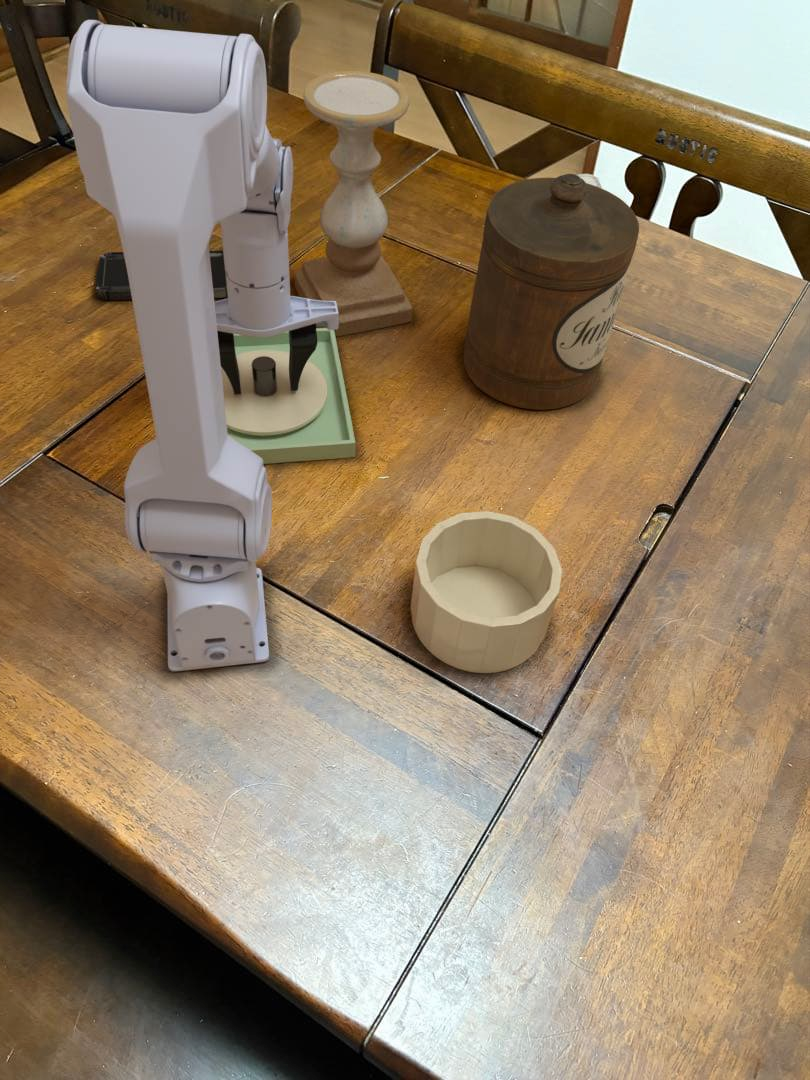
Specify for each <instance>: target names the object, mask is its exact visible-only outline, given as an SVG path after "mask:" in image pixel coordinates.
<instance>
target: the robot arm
mask: <svg viewBox="0 0 810 1080" xmlns="http://www.w3.org/2000/svg"><path fill="white" fill-rule="evenodd" d="M266 67H267V66H266V59H265V55H264V52H263V50H262V47H261V46H260V45H259V44H258V43H257V41H256V39H255V38H254V36H253V35H252V34H250V33H249V34H248V33H240V34H239V35H238V36H236V35H225V34H216V33H215V34H213V33H205V32H204V33H203V32H195V31H194V32H193V31H192V32H191V31H183V30H182V31H181V30H171V29H161V28H150V27H149V28H148V27H138V26H127V25H115V24H106V23H104V22H101V21H100V20H97V19H86V20H84V21H83V22H82V23H81V24H80V26H79V28H78V30H77V31H76V32H75V34H74V35H73V37H72V39H71V42H70V45H69V49H68V57H67V73H66V74H67V75H66V82H65V98H66V104H67V105H66V106H67V110H68V115H69V121H70V124H71V130H72V137H73V141H74V145H75V150H76V157H77V160H78V165H79V169H80V172H81V173H82V175H83V180H84V181H83V182H84V185H85V190H86V194H87V195H88V197H89V198H91V199H92V200H93V201H94V202H96V203H97V204H99V205H100V206H101V207H103V208H104V209H106V210H107V212H109V213H111V214H112V215H113V216H114V217H115V220H116V226H117V231H118V234H119V235H118V236H119V239H120V243H121V248H122V252H123V253H124V258H125V263H126V267H127V273H128V278H129V284H130V290H131V296H132V299H131V300H132V301H131V302H132V307H133V313H134V317H135V318H134V319H135V323H136V329H137V335H138V340H139V346H140V351H141V352H140V353H141V358H142V363H143V368H144V376H145V380H146V387H147V393H148V397H149V404H150V410H151V415H152V420H153V426H154V432H155V433H154V434H155V437H156V438H154V439H153V440H151V441H149V442H147V443H146V444H144V445H143V446H141V447H140V448H138V450H137V451H136V453H135V455H134V457H133V459H132V461H131V463H130V465H129V466H128V467H129V468H128V470H127V473H126V476H125V480H124V483H123V490H124V491H123V492H124V501H125V508H124V527H125V528H124V529H125V533H126V537H127V540H128V542H129V544H130V545H131V546H132V548H133V550H134V551H136V552H138V553H149V556H150V561H151V563H152V564H156V565H160V567H161V572H162V576H163V580H164V584H165V589H166V593H167V667H168V669H169V671H171V672H183V671H190V670H200V669H201V670H202V669H209V668H219V667H228V666H229V667H230V666H238V665H247V664H256V663H264V662H267V661H268V660H269V659H270V651H269V648H270V647H269V638H268V627H267V625H268V624H267V614H266V613H267V612H266V606H265V605H266V604H265V603H266V601H265V593H264V592H265V591H264V579H263V570H262V569H261V568H260V567H257V562H258V561H259V560H260V559H261V558H262V557H263V556H264V555H265V554H266V552H267V550H268V547H269V541H270V537H271V536H270V535H271V530H272V529H271V528H272V517H273V492H272V487H271V485H270V484H269V480H268V474H267V468H266V466H264V464H263V459H262V458H261V457H259V456H258V455H257V454H255V453H254V452H252V451H251V450H249V449H248V448H246V447H245V446H243V445H242V444H240V443H238V442H237V441H235V440H234V439H233V438H231V437H230V436H229V435H228V434H227V424H226V414H225V404H224V394H223V384H222V374H221V367H222V368H223V370H224V371H225V373H226V375H227V377H228V379H229V381H230V383H231V385H232V388H233V391H234V394H235V395H236V394H241V387H240V375H239V368H238V363H237V358H236V353H235V345H234V334H239V335H245V336H251V337H270V336H274V335H277V334H281V333H284V332H288V331H289V344H290V354H289V379H290V386H291V391H297V390H298V385H299V380H300V377H301V374H302V371H303V369H304V367H305V365H306V363H307V361H308V359H309V358H310V356H311V355H312V353H313V352H314V351H315V350H316V347H317V342H318V340H317V333H316V326H327V329H328V330H337V329H338V314H339V313H338V308H337V303H336V301H320V300H313V299H307V298H301V297H300V296H295V295H291V282H290V281H291V279H290V253H289V231H288V230H289V228H288V227H289V224H290V221H291V211H292V210H291V209H292V207H291V199H292V193H293V183H294V159H293V152H292V148H291V146H290V145H289V146H288V145H287V146H283V143H282V140H281V138H273V137H272V135H271V132H270V131H269V128H268V126H267V112H268V81H267V78H268V77H267V68H266ZM217 224H220V235H221V243H222V244H221V245H222V251H223V254H224V264H225V273H226V283H227V293H228V296H227V298H224V299H221V300H217V301H215V298H214V293H213V283H212V273H211V263H210V253H209V251H210V245H209V244H210V240H211V237H212V234H213V232H214V229H215V227H216V225H217ZM262 645H263V646H262ZM173 654H176V655H173Z"/></svg>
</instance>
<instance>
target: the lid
mask: <svg viewBox="0 0 810 1080" xmlns="http://www.w3.org/2000/svg"><path fill="white" fill-rule="evenodd" d="M289 354H290V353H288V352H283V351H277V350H257V351H250V352H245V353H241V354H238V355H236V358H237V363H238V368H239V375H240V387H241V394H236V395H235V394H234V391H233V388H232V385H231V383H230V381H229V379H228V377H227V375H226V373H225V371H224V370H223V368H222V367H221V374H222V384H223V394H224V404H225V414H226V424H227V428H229V429H231V430H234V431H237V432H240V433H244V434H250V435H261V436H265V435H278V434H283V433H287V432H291V431H294V430H296V429H299V428H301V427H303V426H305V425H306V424H308V423H310V422H311V421H312V420H314V419H315V418H316V417H317V416H318V415H319V414H320V412H321V411H322V410H323V408H324V406H325V404H326V401H327V395H328V389H327V383H326V380H325V378H324V376H323V374H322V373H321V371H320V370H319V369H318V368H317V367H316V366H315V365H314V364H312V363H311V362H309V361H307V363H306V365H305V367H304V369H303V371H302V374H301V377H300V380H299V385H298V390H297V391H291V386H290V379H289Z"/></svg>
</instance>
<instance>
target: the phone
mask: <svg viewBox="0 0 810 1080" xmlns="http://www.w3.org/2000/svg"><path fill="white" fill-rule="evenodd" d="M209 253H210V263H211V273H212V283H213V293H214V299H220V298H221V299H222V298H228V293H227V283H226V273H225V264H224V254H223V250H209ZM94 287H95V291H96V295H97V297H98V298H99V299H100V300H104V301H122V300H123V301H124V300H125V301H127V300H128V301H130V300H132V296H131V290H130V284H129V278H128V273H127V267H126V263H125V258H124V253H123V251H109V252H104V253H103V254H101V255H100V257H99V261H98V267H97V273H96V279H95V286H94Z"/></svg>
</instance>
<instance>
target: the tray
mask: <svg viewBox="0 0 810 1080" xmlns="http://www.w3.org/2000/svg"><path fill="white" fill-rule="evenodd" d="M316 333H317V340H318V342H317V347H316V350H315V351H314V352H313V353H312V355H311V356H310V358H309V359H308V361H309V362H311V363H312V364H314V365H315V366H316V367H317V368H318V369H319V370H320V371H321V373H322V374H323V376H324V378H325V380H326V383H327V389H328V395H327V401H326V404H325V406H324V408H323V410H322V411H321V412H320V414H319V415H318V416H317V417H316V418H315V419H314V420H312V421H311V422H310V423H308V424H306V425H305V426H303V427H301V428H299V429H296V430H294V431H291V432H287V433H283V434H278V435H265V436H261V435H250V434H244V433H240V432H237V431H234V430H231V429H229V428H227V434H228V435H229V436H230V437H231V438H233V439H234V440H235V441H237V442H238V443H240V444H242V445H243V446H245V447H246V448H248V449H249V450H251V451H252V452H254V453H255V454H257V455H258V456H259V457H261V458H262V459H263V465H268V464H269V465H270V464H282V463H293V462H294V463H295V462H306V461H307V462H308V461H309V462H310V461H322V460H335V459H336V460H337V459H348V458H350V459H351V458H355V457H356V448H357V447H356V445H357V444H356V437H355V432H354V427H353V422H352V416H351V411H350V406H349V401H348V396H347V395H348V394H347V390H346V384H345V380H344V375H343V370H342V364H341V358H340V354H339V348H338V342H337V338H336V337H335V332H334V330H328V329H327V328H316ZM234 345H235V353H236V355H238V354H241V353H245V352H250V351H257V350H277V351H283V352H288V353H290V344H289V331H288V332H284V333H281V334H277V335H274V336H270V337H251V336H245V335H239V334H234Z"/></svg>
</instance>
